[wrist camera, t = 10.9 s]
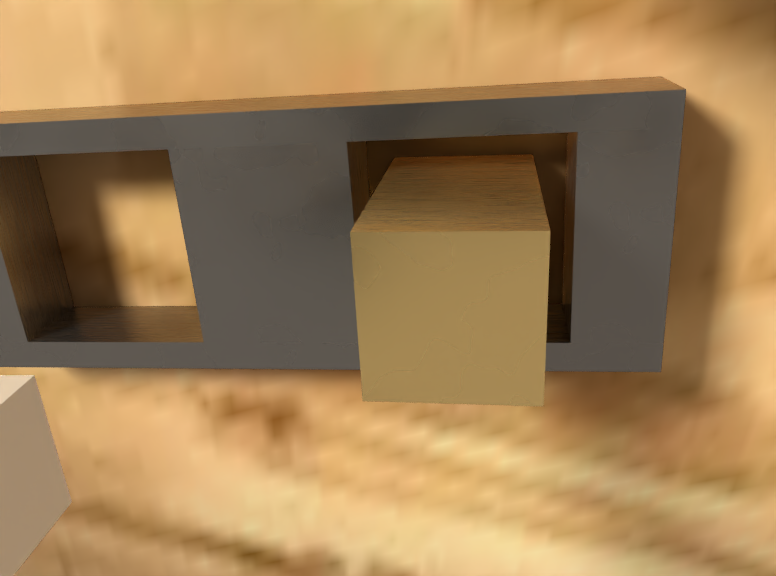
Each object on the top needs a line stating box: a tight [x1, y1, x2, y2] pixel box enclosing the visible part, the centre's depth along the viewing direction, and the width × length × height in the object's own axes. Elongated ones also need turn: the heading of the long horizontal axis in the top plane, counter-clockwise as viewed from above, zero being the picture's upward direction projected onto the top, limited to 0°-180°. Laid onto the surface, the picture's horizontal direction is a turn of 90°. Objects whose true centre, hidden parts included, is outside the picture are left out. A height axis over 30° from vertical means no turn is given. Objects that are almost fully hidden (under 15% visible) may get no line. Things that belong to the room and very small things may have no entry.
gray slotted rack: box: [0, 77, 686, 372], centre depth 23 cm, size 24×8×3 cm, turn 94°
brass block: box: [350, 154, 550, 406], centre depth 20 cm, size 4×4×8 cm
